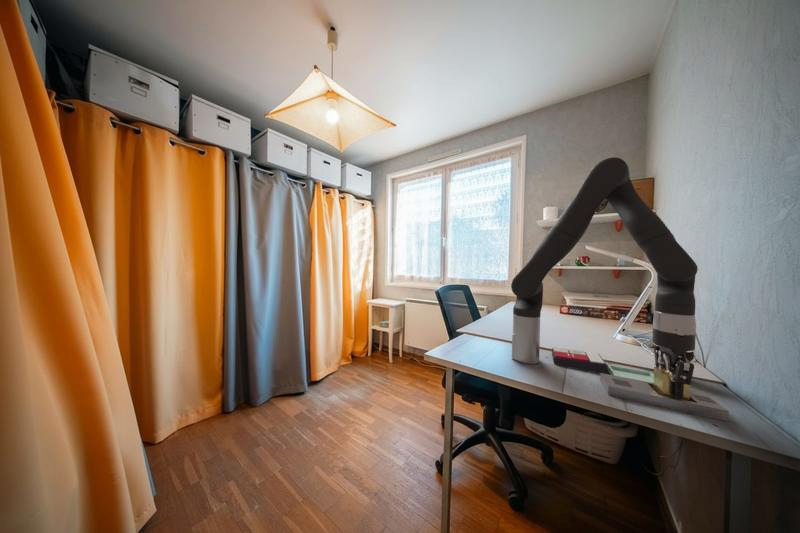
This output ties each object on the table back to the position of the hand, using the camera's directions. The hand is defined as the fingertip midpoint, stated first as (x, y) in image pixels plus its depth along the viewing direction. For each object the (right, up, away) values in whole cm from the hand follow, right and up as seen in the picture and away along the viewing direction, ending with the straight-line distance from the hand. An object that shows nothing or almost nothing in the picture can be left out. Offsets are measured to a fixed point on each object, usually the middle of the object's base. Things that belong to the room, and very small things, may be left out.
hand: (670, 390), depth 63 cm
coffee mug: (+18, -3, +13) cm, 22 cm away
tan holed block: (0, -3, 0) cm, 3 cm away
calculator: (-8, -3, +23) cm, 25 cm away
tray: (+2, -3, +12) cm, 12 cm away
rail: (-3, -3, +2) cm, 4 cm away
